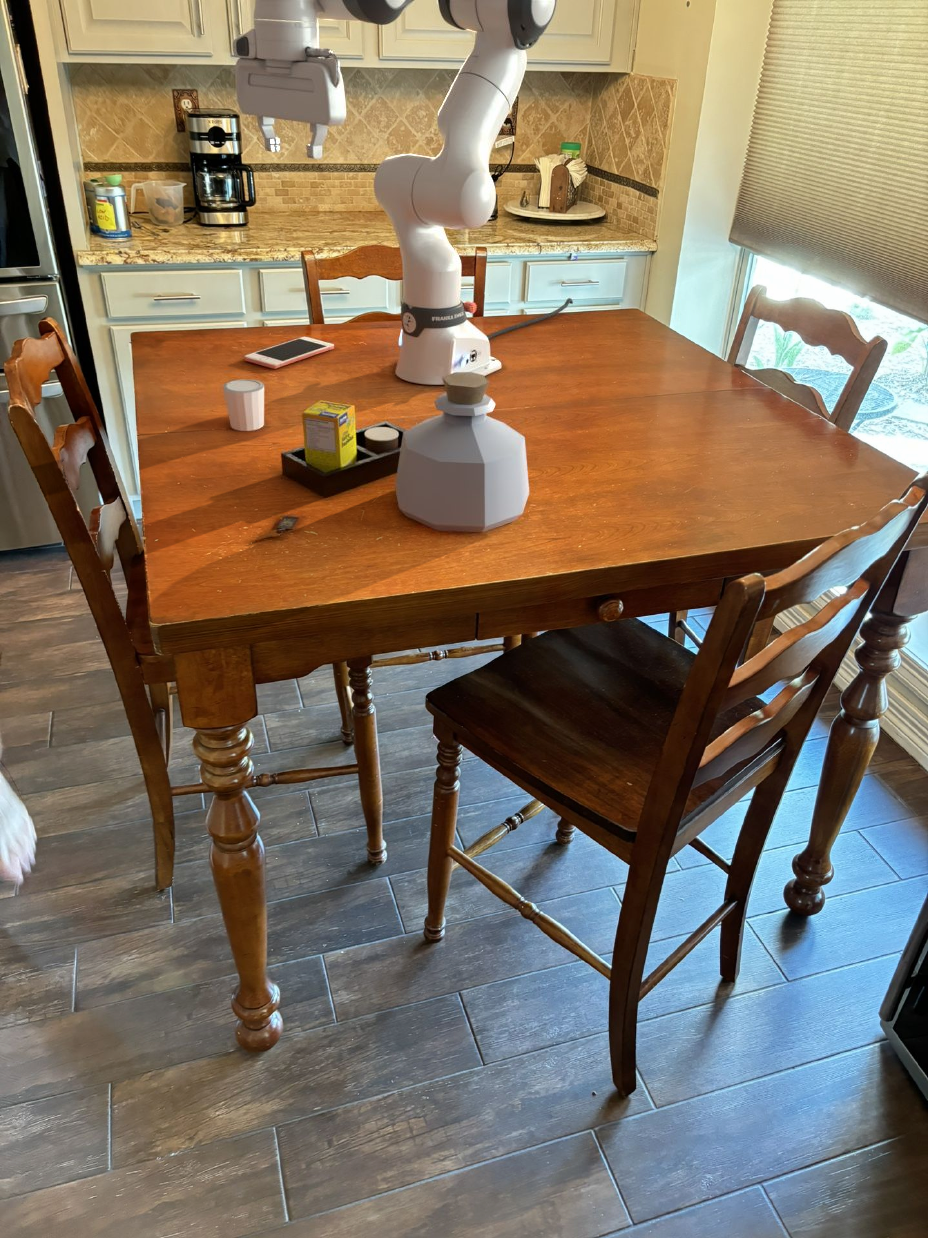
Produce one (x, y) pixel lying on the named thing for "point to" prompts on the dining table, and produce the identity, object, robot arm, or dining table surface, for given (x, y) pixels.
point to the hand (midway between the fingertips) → (293, 154)
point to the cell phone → (288, 352)
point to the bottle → (462, 463)
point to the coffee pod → (381, 439)
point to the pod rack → (346, 476)
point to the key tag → (281, 527)
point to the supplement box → (329, 435)
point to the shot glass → (245, 404)
